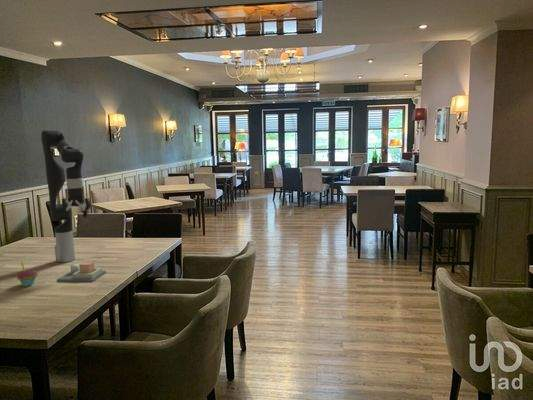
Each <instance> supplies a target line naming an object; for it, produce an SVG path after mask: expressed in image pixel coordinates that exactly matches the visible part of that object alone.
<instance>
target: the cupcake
mask: <svg viewBox="0 0 533 400" xmlns="http://www.w3.org/2000/svg"><path fill="white" fill-rule="evenodd" d="M20 263H21V264H20V265H21V268H22V271H19V273H17V275H16V278H17V279H16V280H19V282H20V283H21V285H22V287H30V286H33V285H35V280H36V278H37V277H38V276H39V275H38V272H37V271H36V270H34V269H25V266H24V262H22V261H20ZM32 284H33V285H32ZM29 285H30V286H29Z"/></svg>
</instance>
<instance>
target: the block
mask: <svg viewBox="0 0 533 400" xmlns="http://www.w3.org/2000/svg"><path fill="white" fill-rule="evenodd" d="M95 268H96V267H95V262H94V261H83V262H81V263H79V270H80V273H92V272H94V271H95Z"/></svg>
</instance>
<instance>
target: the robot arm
mask: <svg viewBox="0 0 533 400" xmlns="http://www.w3.org/2000/svg"><path fill="white" fill-rule="evenodd" d="M40 136H41V137H40V138H41V143H42V145H41V146H42V149H43V155H44V156H43V157H44V162H45V163H44V164H45V173H46V181H47V187H48V188H47V189H48V198H49V199H48V200H49V214H50V219H51V220H52V221H55V222H56V221H63V223H61V224H58V225H57V226H55V227H54V235H55V245H54V254H55V262H57V263H68V262H73V261H75V260H76V254H75V240H74V227H73V209H72V208H74V207H79V208H81V209H82V217H83V219H84V218H85V219H86V218H87V217H88V210H90V209H91V208H92V207H91V200H90V197H84V185H83V184H84V183H83V178H82V167H83V161H84V152H83V151H82V149H80V148H74V146H72V145H71V144H70V143H69V142H68V140H67V138H66V136H65V135H64V133H63V132H62V131H60V130H42V131H41V133H40ZM51 148H56V150H57V153H59V155H60V159H61V161H62V162H64V163H69V164H70V163H74V165H73V166H70V167H67V168H66V169H64V167H63V165H62V164H61V163H60V162H59V160H58V159H57V158H56V157H55V155H54V153H53V151H52V149H51ZM65 172H66V174H65ZM65 182H66V190H67V191H66V192H67V197H64V198H62V199H61V203H57V201H58V200H57V199H58V196H59V193H60V192H61V190H62V188H63V186H64V185H65ZM84 202H85V203H84Z"/></svg>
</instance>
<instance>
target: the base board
mask: <svg viewBox="0 0 533 400" xmlns="http://www.w3.org/2000/svg"><path fill="white" fill-rule="evenodd" d="M79 265H80V263H73V264H71V265H70V267H69V268H70V271H68V272H67V273H65V274H63V275H61V276H60V277H59V278H57V279H56V282H57V283H59V282H60V283H61V282H62V283H66V282H67V283H75V282H76V283H93V282H95V281H96V280H98V279H99V278H101V277H102V276H104V275H106V274H107V270H103V267H94V268H95V271H94V272H92V273H80V268H79Z"/></svg>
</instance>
